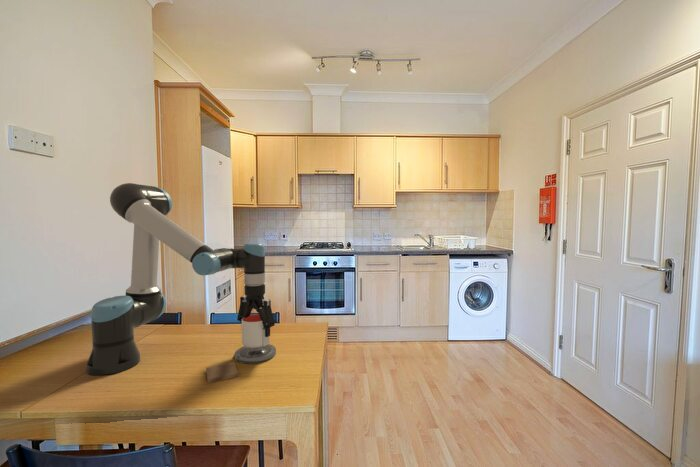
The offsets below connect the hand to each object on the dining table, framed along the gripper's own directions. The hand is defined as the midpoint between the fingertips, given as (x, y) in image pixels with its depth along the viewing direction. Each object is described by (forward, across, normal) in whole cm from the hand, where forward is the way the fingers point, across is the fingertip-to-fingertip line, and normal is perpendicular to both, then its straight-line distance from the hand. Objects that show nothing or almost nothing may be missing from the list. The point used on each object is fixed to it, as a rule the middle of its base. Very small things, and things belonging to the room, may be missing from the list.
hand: (255, 342), depth 120 cm
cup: (+1, 0, 0) cm, 1 cm away
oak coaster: (+5, -2, +16) cm, 17 cm away
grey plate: (+5, 0, 0) cm, 5 cm away
